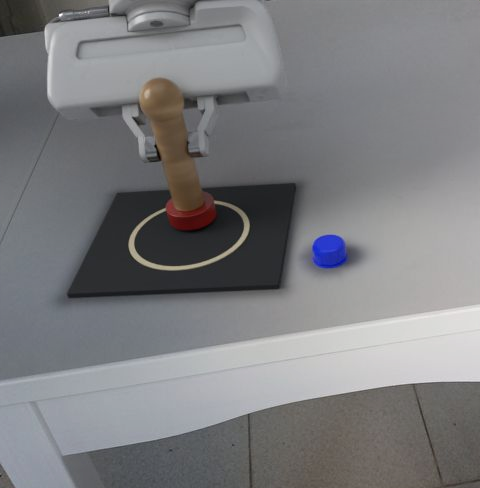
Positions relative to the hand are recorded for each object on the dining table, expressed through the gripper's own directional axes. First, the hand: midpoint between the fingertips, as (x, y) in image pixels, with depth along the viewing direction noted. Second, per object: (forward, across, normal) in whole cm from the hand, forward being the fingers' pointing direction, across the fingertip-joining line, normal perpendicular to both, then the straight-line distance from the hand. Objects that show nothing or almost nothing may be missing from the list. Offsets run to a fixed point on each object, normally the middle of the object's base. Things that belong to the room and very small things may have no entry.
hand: (175, 158), depth 62 cm
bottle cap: (+10, +12, +1) cm, 16 cm away
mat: (+6, 0, +4) cm, 8 cm away
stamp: (+4, 0, +5) cm, 6 cm away
